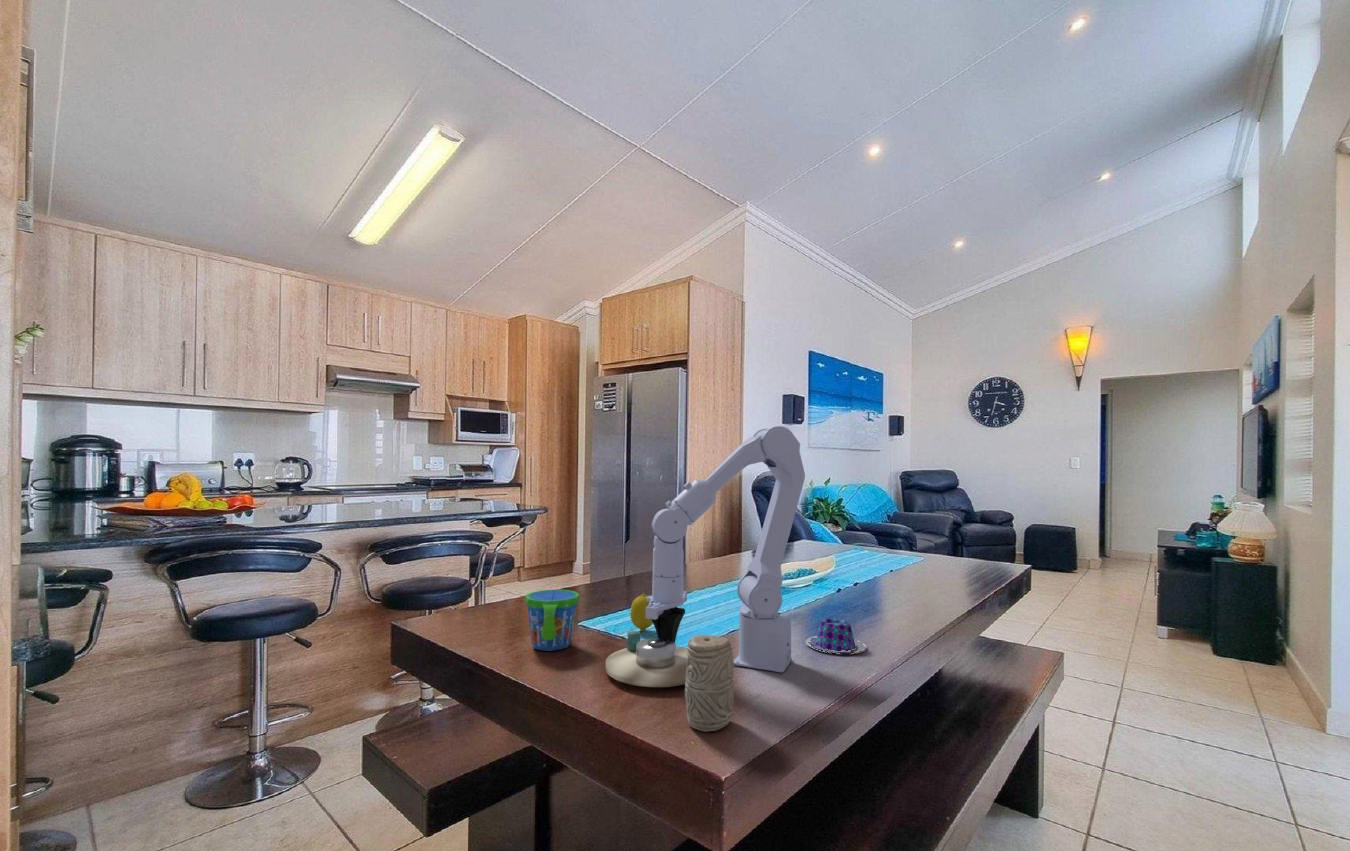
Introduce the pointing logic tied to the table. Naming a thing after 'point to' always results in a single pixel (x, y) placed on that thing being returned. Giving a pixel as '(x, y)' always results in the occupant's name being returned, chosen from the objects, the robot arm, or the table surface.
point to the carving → (709, 682)
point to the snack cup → (551, 618)
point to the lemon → (640, 613)
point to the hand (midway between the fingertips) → (666, 649)
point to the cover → (656, 653)
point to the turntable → (627, 670)
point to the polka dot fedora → (835, 636)
